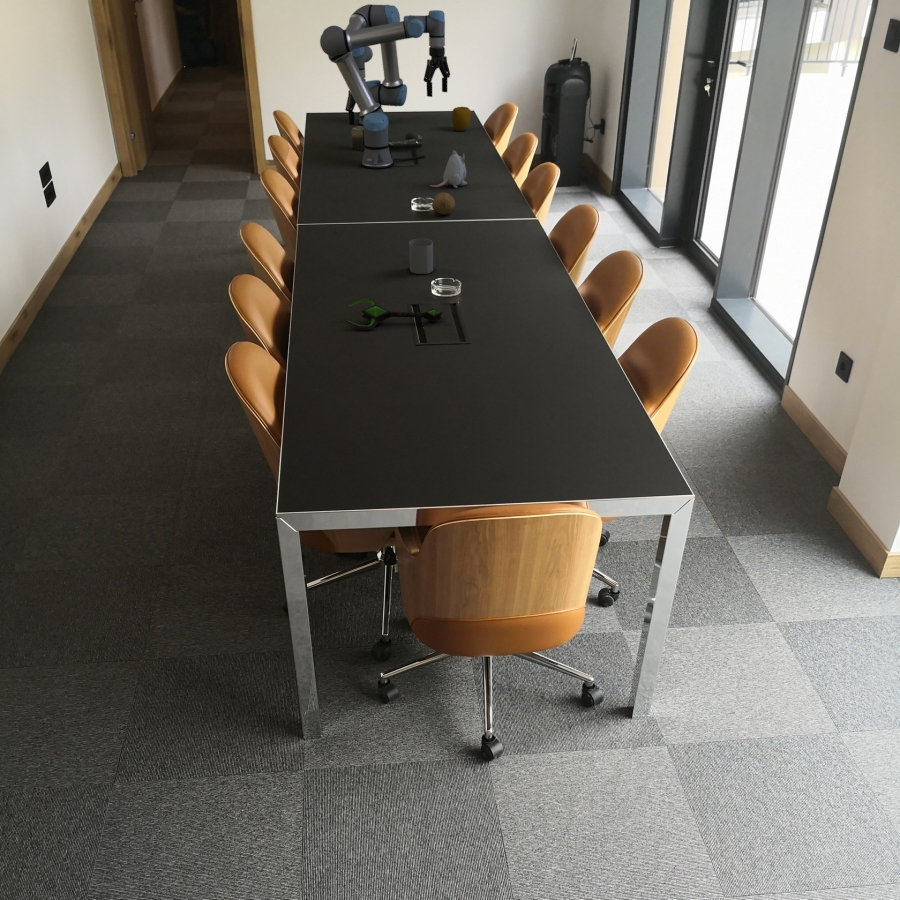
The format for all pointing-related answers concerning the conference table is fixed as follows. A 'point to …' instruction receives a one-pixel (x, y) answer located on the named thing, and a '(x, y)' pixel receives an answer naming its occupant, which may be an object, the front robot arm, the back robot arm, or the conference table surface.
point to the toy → (454, 171)
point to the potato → (443, 203)
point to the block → (358, 138)
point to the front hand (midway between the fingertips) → (437, 94)
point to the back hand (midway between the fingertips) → (360, 122)
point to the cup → (421, 256)
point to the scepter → (389, 314)
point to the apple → (461, 118)
